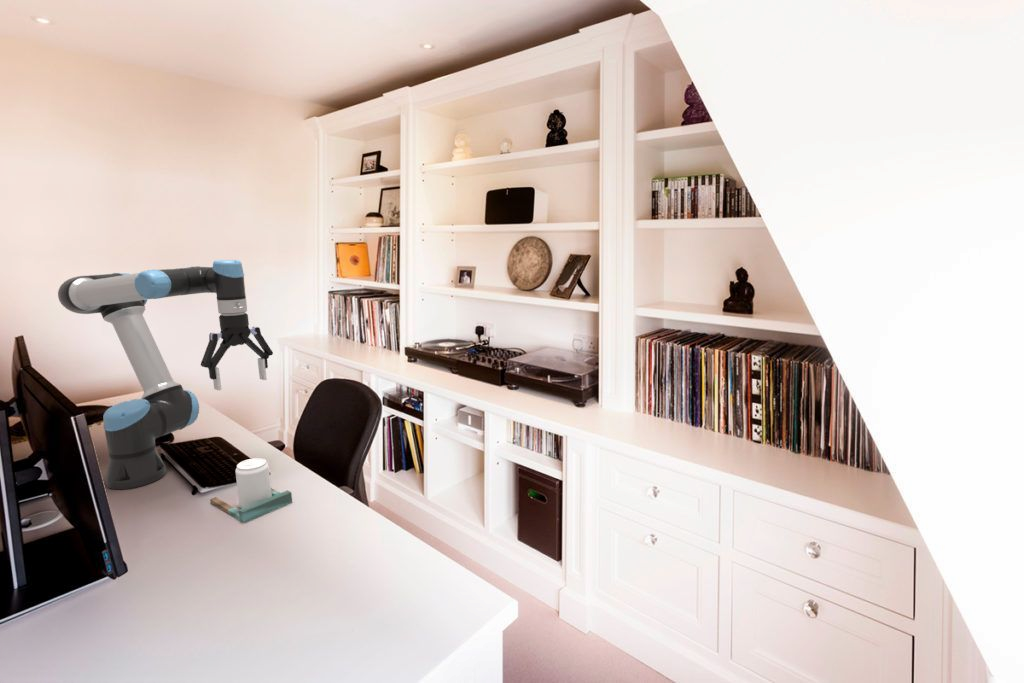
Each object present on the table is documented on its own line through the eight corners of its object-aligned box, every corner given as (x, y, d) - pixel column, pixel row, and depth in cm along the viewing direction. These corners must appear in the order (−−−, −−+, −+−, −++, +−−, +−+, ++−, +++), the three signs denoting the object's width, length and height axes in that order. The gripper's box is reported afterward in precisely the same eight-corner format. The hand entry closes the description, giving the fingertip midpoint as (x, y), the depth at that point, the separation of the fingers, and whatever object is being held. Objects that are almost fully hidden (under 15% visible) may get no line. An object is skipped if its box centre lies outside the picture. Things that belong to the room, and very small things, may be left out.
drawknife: (210, 503, 150) (209, 493, 149) (258, 485, 160) (257, 475, 160) (243, 523, 139) (242, 512, 138) (292, 502, 150) (291, 492, 149)
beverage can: (259, 513, 144) (255, 470, 142) (232, 510, 146) (227, 468, 143) (278, 498, 152) (274, 458, 149) (252, 496, 153) (248, 456, 151)
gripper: (193, 320, 146) (203, 396, 150) (280, 309, 166) (286, 377, 170) (181, 318, 151) (191, 392, 155) (267, 307, 170) (273, 373, 174)
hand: (241, 384), depth 162 cm, fingers open, 13 cm apart
